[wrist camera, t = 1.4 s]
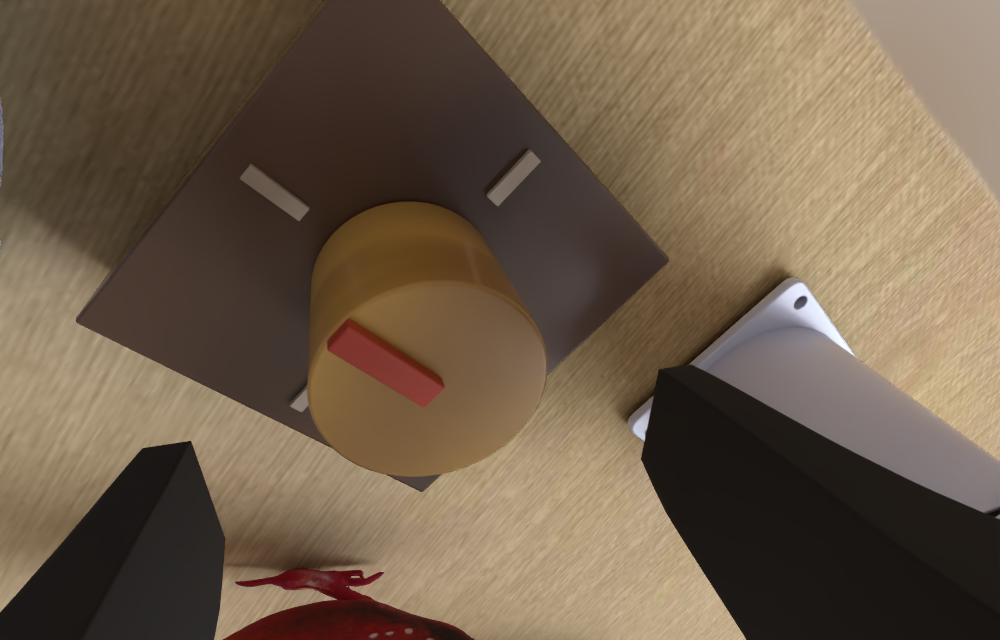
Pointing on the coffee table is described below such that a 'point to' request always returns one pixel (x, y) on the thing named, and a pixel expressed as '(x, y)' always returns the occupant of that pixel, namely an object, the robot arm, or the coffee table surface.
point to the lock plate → (363, 204)
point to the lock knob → (418, 343)
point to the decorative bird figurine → (340, 613)
